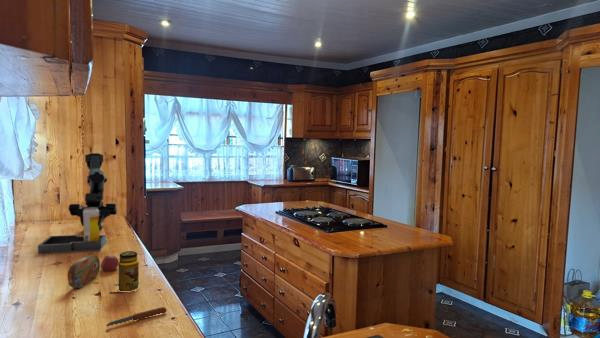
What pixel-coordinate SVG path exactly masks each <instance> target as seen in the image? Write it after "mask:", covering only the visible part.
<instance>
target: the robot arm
mask: <svg viewBox="0 0 600 338" xmlns="http://www.w3.org/2000/svg"><path fill="white" fill-rule="evenodd" d="M84 161H85V164H86V167H87V169H88V175H87V176H86V181H87V183H86V184H88V186H89V193H85V195H84V201H85V206H82V205H81V204H80V203H70V204H69V206H68V212H69V214H70V216H76V217H78V218H79V219H80V224H81V227H83V211H84V209H85V208H91V207H95V208H98V210H99V222H98V226H99V230H102V229H103V228H104V225H102V223H103V222H104V220H105V219H107V218H108V217H110V216H111V215H113V216H114V215H117V213H118V208H117V204H116V203H115V202H114V203H113V202H112V203H111V202H110V203H109V202H106V203H105V205H104V203H103V200H104V190H105V188H104V187H105V184H106V183H107V182H108V178H107V177H106V176H105V175H104V171H103V170H101V168H102V167H103V166H102V165H103V164H104V154H102V153H99V152H90V153H88V154H85V155H84Z"/></svg>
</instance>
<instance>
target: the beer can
mask: <svg viewBox="0 0 600 338" xmlns="http://www.w3.org/2000/svg"><path fill="white" fill-rule="evenodd" d="M98 222H99V210H98V208H95V207H91V208H85V209H84V211H83V226H82V228H83V236H84V241H98V240H99V235H100V229H99V226H98Z"/></svg>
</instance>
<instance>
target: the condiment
mask: <svg viewBox="0 0 600 338" xmlns="http://www.w3.org/2000/svg"><path fill="white" fill-rule="evenodd" d="M119 258H120V259H119V260H118V262H119V264H118V267H117V268H118V283H115V284H114V285H115V286H117V285H118V286H119V290H120V291H132V290H135V289H137V288H138V285H139V283H140V285H142V282H139V276H140V275H139V272H140V270H139V268H140V267H139V260H138V252H136V251H134V250H128V251H123V252H120V254H119Z"/></svg>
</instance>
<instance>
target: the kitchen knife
mask: <svg viewBox="0 0 600 338" xmlns="http://www.w3.org/2000/svg"><path fill="white" fill-rule="evenodd" d="M164 312H166V313H167V308H166V307H164V306H163V307H162V306H161V307H158V308H154V309H153V308H152V309H149V310H146V311H141V312H138V313H134V314H133V315H130V316H127V317H123V318H120V319H117V320H113V321H112V320H111V321H110V322H108V323H107V324H106V325H105V326H106V327H111V326H114V325H113V324H115V325H119V324H118V323H120V324H123V323H122V322H124V323H127V322H126V321H129V320H132V319H133V320H137V319H141V318H145V317H149V316H153V315H156V314H160V313H164ZM145 319H146V318H145ZM141 320H142V319H141ZM129 322H130V321H129ZM110 325H111V326H110Z"/></svg>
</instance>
